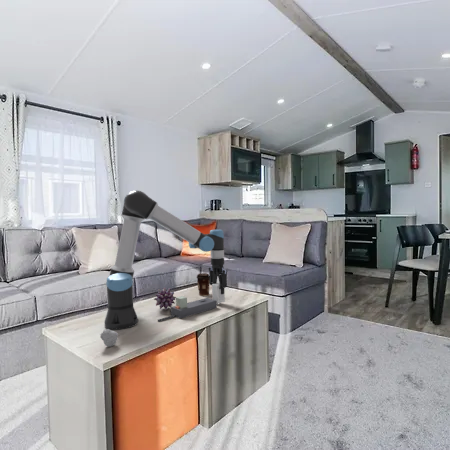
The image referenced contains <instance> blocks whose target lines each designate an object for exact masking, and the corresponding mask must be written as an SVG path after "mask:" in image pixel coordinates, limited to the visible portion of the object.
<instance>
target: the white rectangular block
mask: <svg viewBox="0 0 450 450" xmlns="http://www.w3.org/2000/svg"><path fill="white" fill-rule="evenodd" d="M219 288H220V284H219V282H217V283H215V284H212V285H211V294H212V295H211V297H212V298H211V299H213V300H216V302H217V305H219V304H220V305H221V303H225V302H226V300H225V299H226V297H225V296H226V294H225V292H226V291H225V288H224V299H223V300H219Z"/></svg>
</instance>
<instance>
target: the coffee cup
mask: <svg viewBox="0 0 450 450" xmlns="http://www.w3.org/2000/svg"><path fill="white" fill-rule="evenodd" d="M196 279H197V289H198V295H199V296H200V297H208V296H210V279H209V273H206V272H201V273H198V274H197V275H196Z"/></svg>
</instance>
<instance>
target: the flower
mask: <svg viewBox="0 0 450 450" xmlns="http://www.w3.org/2000/svg"><path fill="white" fill-rule="evenodd" d="M157 290H158V291H157V293H156V294H154V296H156V297H154V298H153V300H154V301H156V303H155V306H159V310H162V309H163V308H164V310H165V311H166V310H168V308H170V309H171V307H173V304H174V305H176V296H175V295H174V294H175V292H174V291H171V288H168V289H166V287H163V289H157Z"/></svg>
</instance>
